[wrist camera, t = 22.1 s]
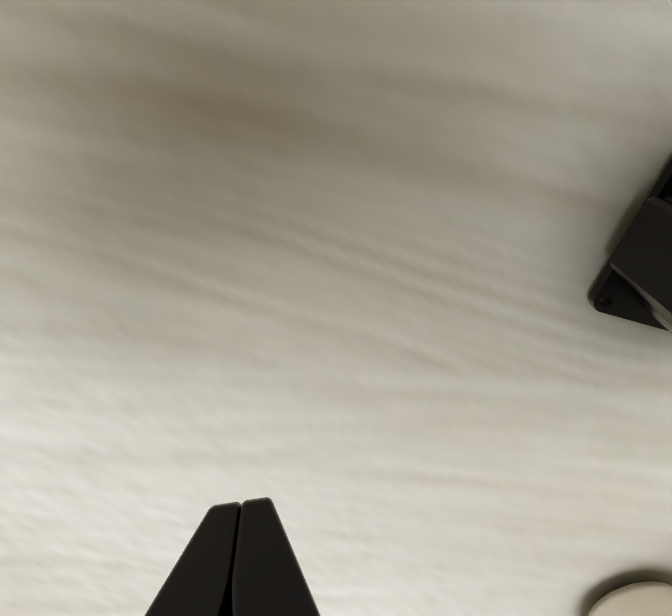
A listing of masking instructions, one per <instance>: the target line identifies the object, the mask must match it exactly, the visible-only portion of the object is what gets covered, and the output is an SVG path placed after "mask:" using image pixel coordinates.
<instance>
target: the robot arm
mask: <svg viewBox="0 0 672 616" xmlns="http://www.w3.org/2000/svg"><path fill="white" fill-rule="evenodd" d="M606 295H608V296H607V298H606V299H605V300H604V301H601V302H600V300H601V299H602V298H603V297H604V296H606ZM589 302H590V304H591V305H592V306H593V307H594V308H595V309H596V310H597V311H599V312H602V313H606V314H609V315H613V316H617V317H620V318H624V319H628V320H631V321H635V322H638V323H642V324H646V325H649V326H653V327H657V328H660V329H664V330H668V331H670V332H671V333H672V159H671V160H670V162H669V164H668V165H667V167H666V169H665V170H664V172H663V174H662V175H661V177H660V179H659V180H658V182H657V184H656V185H655V187H654V188H653V190H652V192H651V193H650V195H649V197H648V198H647V200H646V202H645V203H644V205H643V206H642V208H641V209H640V211H639V213H638V214H637V216H636V218H635V219H634V221H633V223H632V224H631V226H630V228H629V229H628V231H627V233H626V234H625V236H624V238H623V239H622V241H621V243H620V244H619V246H618V248H617V249H616V251H615V253H614V254H613V256H612V257H611V259H610V261H609V263H608V265H607V266H606V268H605V270H604V271H603V273H602V275H601V276H600V278H599V279H598V281H597V283H596V284H595V286H594V288H593V289H592V291H591V293H590V295H589ZM145 616H320V614H319V611H318V609H317V607H316V604H315V602H314V599H313V597H312V595H311V592H310V590H309V588H308V585H307V583H306V580H305V578H304V576H303V573H302V571H301V568H300V566H299V564H298V561H297V559H296V556H295V554H294V552H293V549H292V547H291V545H290V542H289V540H288V537H287V535H286V533H285V530H284V528H283V525H282V523H281V521H280V518H279V516H278V514H277V511H276V509H275V506H274V504H273V502H272V500H271V499H270V498H268V497H265V498H258V499H252V500H246V501H244V502H243V503H242V505H241V504H240V503H239V502H232V503H226V504H219V505H215V506H213V507H211V508H210V509H209V510H208V512H207V514H206V515H205V517H204V519H203V520H202V522H201V524H200V525H199V527H198V528H197V530H196V532H195V533H194V535H193V537H192V538H191V540H190V542H189V543H188V545H187V547H186V548H185V550H184V552H183V553H182V555H181V556H180V558H179V560H178V561H177V563H176V565H175V566H174V568H173V570H172V571H171V573H170V575H169V576H168V578H167V580H166V581H165V583H164V584H163V586H162V588H161V589H160V591H159V593H158V594H157V596H156V598H155V599H154V601H153V603H152V604H151V606H150V608H149V609H148V611H147V613H146V614H145Z"/></svg>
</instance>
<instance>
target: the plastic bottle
mask: <svg viewBox="0 0 672 616" xmlns="http://www.w3.org/2000/svg"><path fill="white" fill-rule="evenodd" d="M588 616H672V586H671V585H669V584H666V583H662V582H652V581H649V582H639V583H634V584H630V585H627V586H623V587H621V588H618V589H616V590H614V591H612V592H610V593H608V594H607V595H605V596H604V597H602V598H601V599H600V600H598V601H597V602H596V603H595V604H594V605H593V607H592V608H591V610H590V611H589V614H588Z"/></svg>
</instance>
